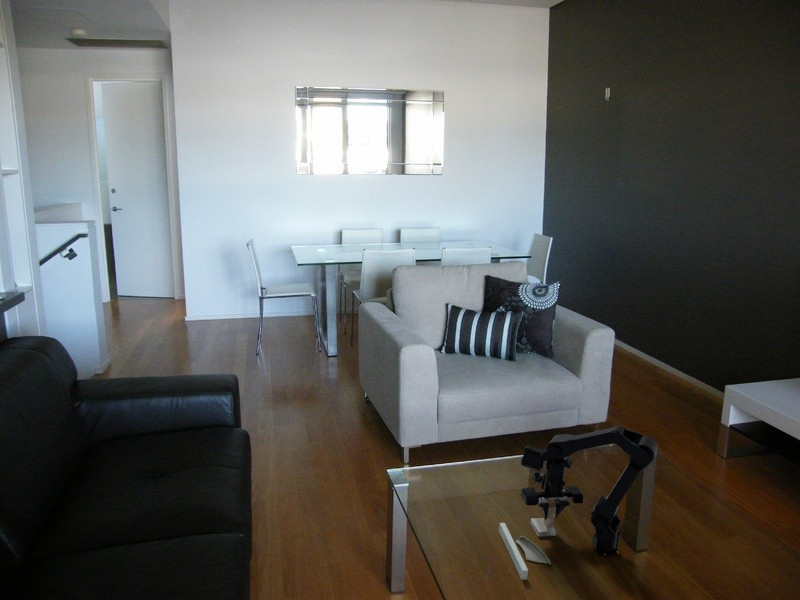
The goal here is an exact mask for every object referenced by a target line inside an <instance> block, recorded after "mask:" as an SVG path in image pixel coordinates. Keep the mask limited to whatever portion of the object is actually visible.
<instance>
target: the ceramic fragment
mask: <svg viewBox="0 0 800 600" xmlns="http://www.w3.org/2000/svg"><path fill="white" fill-rule="evenodd" d="M514 543H515V544H516V545H517V546H518V547H520V548H521V549H522V551H523V555H524V556H525V561H527V562H530V563H532V562H533V563H537V564H542V563H544V565H547V564H549V565H548V566H550V565H552V566H553V564H552V562H551V560H550V559H549V557H548V555H546V553H545V552H544V551H543V549H541V548H540V546H538V545H537V544H536V543H535V542H533V541H532V540H531V539H528V537H525V536H524V535H520V536H519V537H518V538H517V539H516V540H515V541H514Z"/></svg>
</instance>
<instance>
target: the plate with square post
mask: <svg viewBox="0 0 800 600" xmlns="http://www.w3.org/2000/svg"><path fill="white" fill-rule="evenodd" d="M547 503H548V505H549V510H548V515H547V519H546V520H544V517H538V518H537V517H535V518H530V526H533V527H532V529H533V530H534V532H535V534H536V536H537V537H538V536H539V537H554V536H557V530H556V528H555V520H556V519H555V514H556V506H555V504H554V503H555V502H547Z"/></svg>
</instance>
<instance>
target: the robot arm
mask: <svg viewBox="0 0 800 600" xmlns="http://www.w3.org/2000/svg"><path fill="white" fill-rule="evenodd" d="M608 445H616V446H618V447H619V448H620V449H621V450H622V451H623V452H624V453H626V454H627V455H629V456H630V458H629V462H628V464H627V465H626V467H625V468H624V469H623V472H622V473H621V475H620V476H619V478H618V480H617V481H616V483H615V485H614V486H613V488H612V489H611V491H610V492H609V494H608V495H607V496H603V495H602V494H601V495H600V496H599V498H598V501H597V502H596V503H595V504H594V505H593V508H592V510H591V511H590V515H591V517H590V522H591V524H592V525H593V527H594V529H595V533H593V538H592V540H591V541H590V543H591V545H592V546H593V548H594V550H595V551H596V552H597V554H598V555H599V556H602V555H604V554H605V553H606V556H617V555H616V554H617V552H616V551H617V550H618V551H619V549H618V548H619V541H620V535H621V534H620V532H619V530H620V527H621V524H622V520H621V519H620V518H619V516H618V515H617V511H618V508H619V505H620V504H621V502H622V501H623V499H624V497H625V496H626V494H627V493H628V491H629V490H630V489H631V487H632V485H633V483H634V482H635V480H636V479H637V477H638V475H639V474H640V473H641V472H642V471H643V470H645V469H646V468H647V467H649V465H650V464H651V463H652V462H653V461H654V459H655V456H656V453H657V452H658V449H659V446H658V443H657V441H656V440H655V439H654V438H652V437H651V436H646V435H644V434H642V433H641V432H637V431H635V430H634V431H633V430H630V429H628V428H625V427H623V426H621V425H615V426H612V427H609V428H605V429H600V430H595V431H591V432H587V433H586V432H585V433H581V434H576V435H575V434H570V433H564V434H560V433H559V434H557V435H556V434H555V436H553V438H552V439H551V440H550V441H549V443H548V444H547V446H545V448H544V449H540V448H536V447H534V446H531V445H529V444H528V445H526V446H525V448H524V452H523V455H522V457H521V461H520V463H521V464H520V465H521V467H524V468H526V469H529V470H532V473H531V474H532V475H531V481H532V482H534V483H537V485H538V484H539V485H540V486H539V487H540V489H541V490H543V491H538V492H537V491H536V489H535V488H534V487H523V488H522V489H521V490H520V496H521V497H520V498H521V499H522V500H523V502H524V503H525V505H526V506H528V507H529V506H537V505H538V506H539V507H540V508H541V509H540V510H541V513H542V516H543V517H542V518H544V520H546V519H547V515H548V510H549V505H548V503H549V502H548V500H552V499H553V500H554V502H553V503H554V504H555V506H556V514H555V520H556V519H557V517H558V516H559V515H560V514H561V513H562V512H563V511H564V510H565V508H566V507H569V506H570V502H569V498H572V499H571V501H572V502H573V504H583V503H584V502H585V495H584V493H583V492H582V491H581V489H580V488H579V487H578V486H577V485H569V486H566V481H565V477H566V476H565V474H566V469H571V468H572V466H573V464H574V461H573V460H572V459H571V458H570V457H571V455H573V454H575V453H577V452H579V451H580V452H581V451H583V450H588V449H594V448H599V447H603V446H608ZM569 456H570V457H569ZM533 470H534V471H533ZM541 470H545V472H541ZM540 472H541V473H540ZM564 487H565V488H564ZM602 557H603V556H602Z"/></svg>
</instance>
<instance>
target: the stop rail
mask: <svg viewBox="0 0 800 600" xmlns="http://www.w3.org/2000/svg"><path fill="white" fill-rule="evenodd" d="M498 532H499V535H500V537H501V538H502V541H503V543H504V545H505V547H506V549H507V552H508V554H509V556H510V558H511V560H512V563H513V564H514V567H515V569H516V570H517V573H518V576H519V577H520V580H523V581H524V580H527V579H528V575H529V569H528V567H527V565H526V563H525V562H524V559H523V557H522V555H521V552H520V551H519V549H518V547H517V544H516V542H515V541H514V539H513V537H512V535H511V532H510V530H509V529H508V527H507V525H506V523H505V522H500V523H499V528H498Z"/></svg>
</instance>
